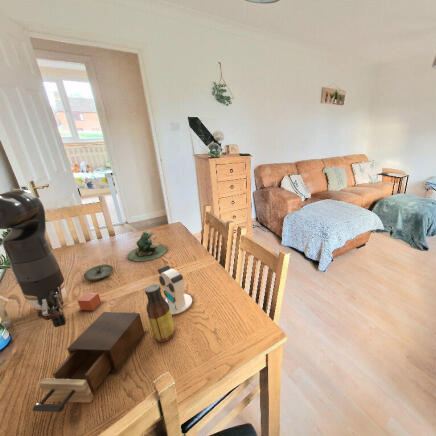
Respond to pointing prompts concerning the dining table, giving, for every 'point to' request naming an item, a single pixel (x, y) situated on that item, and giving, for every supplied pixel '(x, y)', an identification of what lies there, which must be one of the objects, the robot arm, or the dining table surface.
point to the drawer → (74, 380)
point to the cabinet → (111, 336)
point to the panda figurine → (174, 290)
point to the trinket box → (32, 299)
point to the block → (89, 301)
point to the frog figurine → (146, 249)
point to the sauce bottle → (159, 314)
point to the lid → (98, 272)
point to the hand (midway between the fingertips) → (60, 324)
